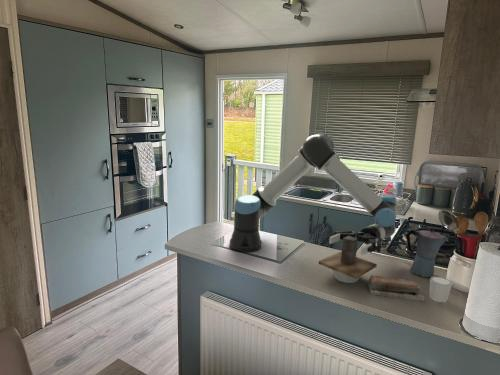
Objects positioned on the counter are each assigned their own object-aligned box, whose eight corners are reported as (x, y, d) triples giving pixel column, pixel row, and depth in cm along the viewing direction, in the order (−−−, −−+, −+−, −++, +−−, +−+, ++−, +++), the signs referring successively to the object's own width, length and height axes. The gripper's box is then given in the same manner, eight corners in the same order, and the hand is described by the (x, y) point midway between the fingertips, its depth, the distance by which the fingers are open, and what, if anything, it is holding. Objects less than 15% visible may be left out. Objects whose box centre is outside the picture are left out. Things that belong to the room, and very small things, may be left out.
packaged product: (372, 283, 122) (368, 271, 132) (370, 295, 123) (366, 283, 133) (426, 290, 120) (417, 277, 129) (424, 302, 121) (416, 289, 130)
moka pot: (444, 281, 137) (453, 233, 133) (403, 275, 140) (411, 229, 136) (437, 271, 146) (445, 226, 142) (398, 266, 149) (405, 222, 145)
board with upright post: (318, 263, 135) (321, 236, 132) (340, 254, 146) (343, 228, 143) (355, 278, 123) (359, 249, 121) (376, 267, 135) (380, 239, 132)
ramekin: (328, 280, 133) (329, 267, 132) (334, 269, 143) (336, 257, 142) (358, 287, 128) (359, 274, 127) (362, 276, 138) (364, 263, 137)
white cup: (426, 299, 122) (429, 281, 120) (428, 291, 127) (431, 274, 126) (448, 306, 118) (452, 287, 117) (449, 297, 124) (452, 279, 123)
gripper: (400, 252, 137) (375, 266, 123) (345, 234, 155) (317, 245, 140) (403, 234, 136) (378, 246, 121) (346, 218, 153) (319, 227, 139)
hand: (345, 245), depth 131 cm, fingers open, 13 cm apart
